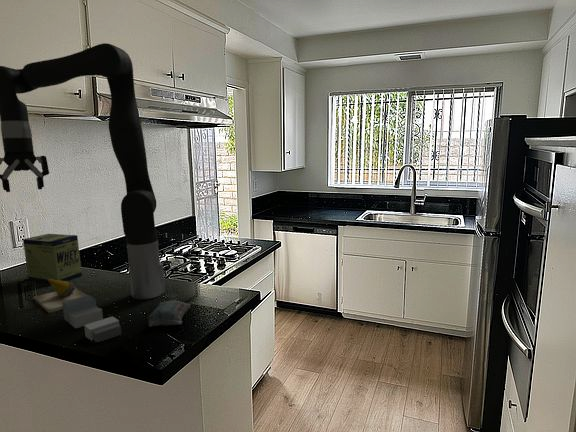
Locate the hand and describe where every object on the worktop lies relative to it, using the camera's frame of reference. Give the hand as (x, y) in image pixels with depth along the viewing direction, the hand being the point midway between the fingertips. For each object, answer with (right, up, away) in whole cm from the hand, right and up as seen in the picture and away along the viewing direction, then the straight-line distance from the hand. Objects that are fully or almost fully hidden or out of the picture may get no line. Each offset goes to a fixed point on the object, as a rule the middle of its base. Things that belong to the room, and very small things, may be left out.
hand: (24, 190), depth 127 cm
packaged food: (+50, -36, -17) cm, 64 cm away
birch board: (+11, -34, +1) cm, 36 cm away
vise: (+30, -37, -19) cm, 51 cm away
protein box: (-5, -31, +25) cm, 40 cm away
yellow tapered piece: (+11, -33, +2) cm, 35 cm away
